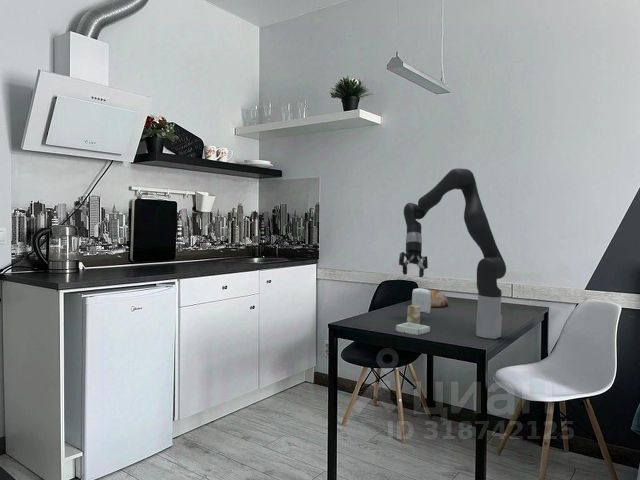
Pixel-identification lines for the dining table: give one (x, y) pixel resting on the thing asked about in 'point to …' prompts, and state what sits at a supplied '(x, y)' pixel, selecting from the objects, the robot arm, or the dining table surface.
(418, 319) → the birch block
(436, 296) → the bread
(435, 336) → the dining table surface
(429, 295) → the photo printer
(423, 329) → the tray
